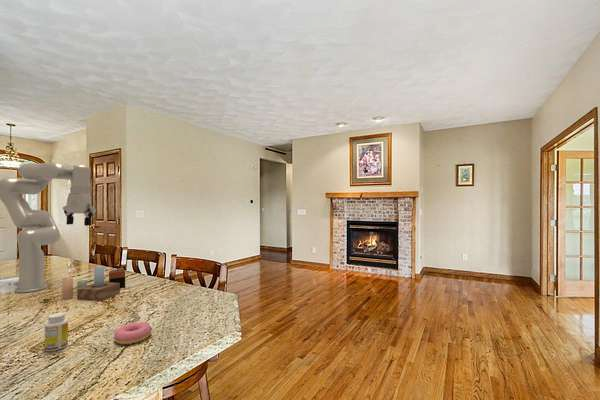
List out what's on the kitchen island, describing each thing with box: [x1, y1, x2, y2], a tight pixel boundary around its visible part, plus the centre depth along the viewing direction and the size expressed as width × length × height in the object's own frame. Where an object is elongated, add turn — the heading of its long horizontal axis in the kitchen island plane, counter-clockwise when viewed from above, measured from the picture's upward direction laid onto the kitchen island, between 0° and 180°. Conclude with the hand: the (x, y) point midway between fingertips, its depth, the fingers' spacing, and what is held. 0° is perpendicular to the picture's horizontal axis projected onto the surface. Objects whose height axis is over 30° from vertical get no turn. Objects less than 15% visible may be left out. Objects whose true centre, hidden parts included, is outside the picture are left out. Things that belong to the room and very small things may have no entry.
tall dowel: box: [93, 265, 105, 288], centre depth 141 cm, size 4×4×14 cm
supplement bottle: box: [44, 312, 69, 352], centre depth 91 cm, size 6×6×10 cm
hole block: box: [76, 281, 121, 302], centre depth 141 cm, size 12×12×5 cm
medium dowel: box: [61, 277, 74, 301], centre depth 137 cm, size 4×4×9 cm
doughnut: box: [113, 321, 152, 345], centre depth 97 cm, size 11×11×4 cm
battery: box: [108, 267, 126, 289], centre depth 155 cm, size 4×7×10 cm, turn 133°
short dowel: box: [76, 279, 88, 290], centre depth 145 cm, size 4×4×6 cm
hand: (78, 224), depth 144 cm, fingers open, 9 cm apart
